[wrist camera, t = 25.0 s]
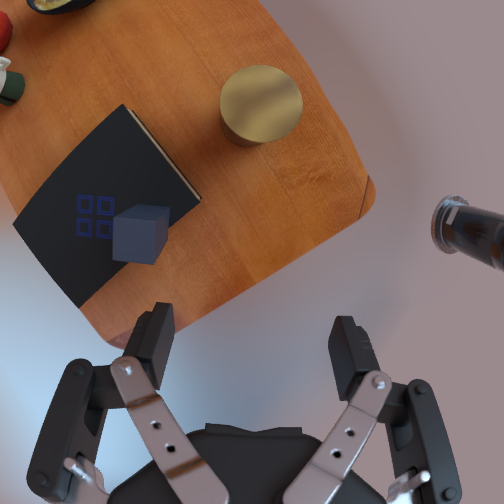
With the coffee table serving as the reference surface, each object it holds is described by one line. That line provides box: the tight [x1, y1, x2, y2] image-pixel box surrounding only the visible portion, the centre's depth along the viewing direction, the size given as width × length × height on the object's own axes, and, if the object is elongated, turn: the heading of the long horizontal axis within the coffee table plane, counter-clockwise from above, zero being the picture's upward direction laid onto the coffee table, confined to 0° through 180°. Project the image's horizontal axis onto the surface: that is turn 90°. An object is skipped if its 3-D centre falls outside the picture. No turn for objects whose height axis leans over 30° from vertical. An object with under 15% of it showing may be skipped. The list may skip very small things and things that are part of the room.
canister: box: [219, 65, 303, 147], centre depth 35 cm, size 9×9×14 cm
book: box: [13, 104, 202, 308], centre depth 40 cm, size 17×25×7 cm
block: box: [113, 204, 170, 265], centre depth 33 cm, size 4×4×10 cm
